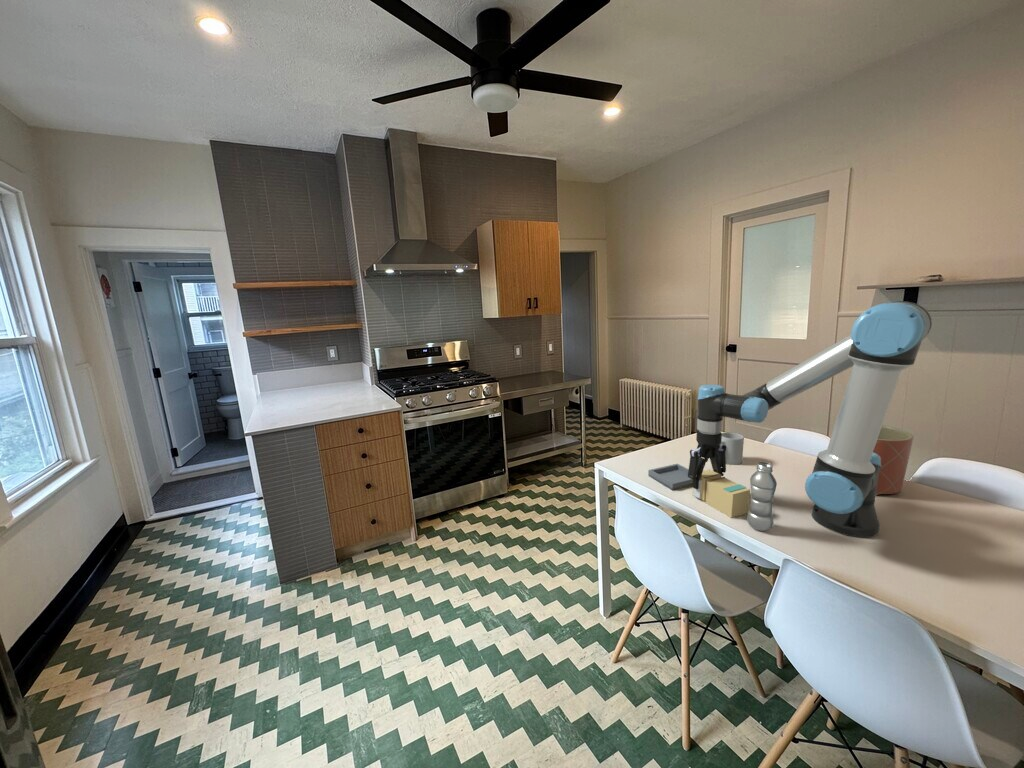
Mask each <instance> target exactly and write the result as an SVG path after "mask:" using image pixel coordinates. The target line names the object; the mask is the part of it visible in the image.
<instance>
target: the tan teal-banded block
mask: <svg viewBox="0 0 1024 768" xmlns="http://www.w3.org/2000/svg"><path fill="white" fill-rule="evenodd" d="M750 497H751V488H750V489H749V488H747V487H746V486H744V485H742V484H740V483H737V482H735V481H732V480H730V479H728V478H726V477H725V476H721V478H717V479H713V480H709V481H707V487H706V500H705V501H703V502H704V503H705V504H707V505H708V506H710V507H712V508H713V509H716V511H719V512H720V513H722V514H724V515H725V514H726V516H727V517H729V518H730V519H732V517H733V518H736V517H740V516H742V515H747V514H748V511H749V508H750ZM739 515H740V516H739ZM735 516H736V517H735Z"/></svg>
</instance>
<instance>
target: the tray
mask: <svg viewBox="0 0 1024 768" xmlns="http://www.w3.org/2000/svg"><path fill="white" fill-rule="evenodd" d="M688 470H689V468H687V467H685V466H684V465H681V464H679V463H675V464H670V465H666V466H665V465H664V466H660V467H656V468H652V469H651V468H650V469H648V476H647V477H649V478H651V479H653V480H654V481H656V482H658V483H659V484H661V485H662V486H664V487H666V488H667V489H670V490H671V491H675V490H681V489H683V488H687V487H693V479H691V478H689V477H688Z"/></svg>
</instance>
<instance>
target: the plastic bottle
mask: <svg viewBox="0 0 1024 768" xmlns="http://www.w3.org/2000/svg"><path fill="white" fill-rule="evenodd" d="M773 471H774V470H773V464H772V463H770V462H767V461H759V462H757V466H756V471H755V472H753V474H752V475H751V476H750V479H749V483H750V484H749V485H750V502H749V508H748V513H747V514H746V515H747V516H746V518H747V523H748V525H749V526H750V527H752V528H753V529H754V530H756V531H757V530H758V531H762V532H767V531H770V530H771V529H773V527H774V516H773V515H774V514H773V504H774V503H773V502H774V496H775V493H776V489H777V485H778V484H777V480H776V477H774V475H773V473H772V472H773Z"/></svg>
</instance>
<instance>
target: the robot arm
mask: <svg viewBox="0 0 1024 768" xmlns="http://www.w3.org/2000/svg"><path fill="white" fill-rule="evenodd" d="M932 325H933V322H932V317H931V314H930V313H929V311H928V310H927V309H926V308H925V307H924V306H922V305H920V304H918V303H915V302H912V301H911V302H910V301H903V300H902V301H900V300H899V301H893V302H892V301H891V302H884V303H883V302H882V303H880V304H876V305H875V306H871V307H870V308H868V309H867V310H865V311H863V312H862V313H861V314H860V315H859V316H858V317H857V319H856V320H855V321H854V323H853V325H852V327H851V332H850V334H849V335H848V336H846V337H844V338H842V339H841V340H839V341H837V342H836V343H835V342H834V344H832V345H830V346H828V347H827V348H825V349H823V350H822V351H820V352H818V353H816V354H814V355H813V356H811V357H809V358H807V359H806V360H804V361H802V362H801V363H799V364H797V365H796V366H793V367H792V368H789V369H788V370H787V371H785V372H783V373H781V374H780V375H778V376H776V377H774V378H772V379H771V380H769V381H768V382H766V383H764V384H762V385H761V386H758V387H757V388H755V389H753V390H750V391H748V392H746V393H744V394H741V395H740V394H732V393H726V391H725V387H724V386H722V385H719V384H709V383H708V384H702V385H701V386H699V388H698V397H697V417H696V418H697V419H696V429H697V430H696V438H695V440H696V442H697V446H696V449H694V450H693V449H690V450H689V454H690V455H689V456H690V457H689V463H688V469H689V470H688V477H689V478H691V479H693V485H692V489H693V488H694V491H693V490H692V496H694V497H696V498H697V499H699V500H701V499H700V498H701V491H702V480H700V478H701V475H702V472H703V471H704V470H705V465H706V463H708V461H710V464H711V469H712V471H714V472H716V473H718V474H721V477H724V475H725V474H724V473H726V472H727V464H726V456H725V452H726V446H725V445H722V444H721V441H722V433H723V432H722V431H723V422H724V421H723V420H724V418H729V419H733V420H739V421H743V422H748V423H762V422H764V421H765V419H766V418H767V416H768V412H769V411H770V410H771V409H773V408H775V407H777V406H778V405H781V404H782V403H784V402H786V401H788V400H789V399H791V398H794V397H796V396H798V395H800V394H802V393H804V392H805V391H808V390H809V389H811V388H813V387H816V386H817V385H820V384H821V383H823V382H825V381H827V380H829V379H831V378H833V377H834V376H837V375H838V374H841V373H843V372H844V371H847V370H848V369H850V368H851V373H850V375H849V379H848V382H847V385H846V388H845V390H844V391H845V392H844V394H843V398H842V401H841V404H840V407H839V411H838V414H837V416H836V420H835V423H834V426H833V430H832V433H831V435H830V438H829V442H828V445H827V449H824V450H821V451H819V452H818V454H817V457H816V460H815V464H814V466H813V469H812V472H811V473H810V474H809V475H808V476H807V478H806V480H805V483H804V488H805V489H804V490H805V493H806V495H807V497H808V498H809V499H810V501H811V502H812V503H813V504H814V505H813V507H812V511H811V517H812V519H813V520H814V521H815V523H817V524H819V525H820V526H822V527H823V528H826V529H828V530H830V531H833V532H834V533H838V534H842V535H844V536H845V535H846V536H848V537H849V536H850V537H855V538H871V537H875V536H877V535H878V534H879V530H880V526H881V525H880V521H879V517H878V514H877V510H876V507H875V501H876V496H877V495H876V489H877V483H878V476H879V470H880V467H881V458H880V456H879V455H878V454H876V453H874V452H873V450H874V447H875V445H876V442H877V439H878V436H879V433H880V430H881V428H882V425H883V424H884V422H885V419H886V415H887V413H888V410H889V407H890V404H891V402H892V398H893V396H894V393H895V390H896V388H897V385H898V382H899V380H900V376H901V373H902V372H903V370H906V369H909V368H911V367H913V366H914V364H915V361H916V359H917V357H918V353H919V350H920V347H921V345H922V342H923V340H924V339H925V338H926V337H927V336H928V335H929V333H930V331H931V328H932ZM696 475H697V476H696Z"/></svg>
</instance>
